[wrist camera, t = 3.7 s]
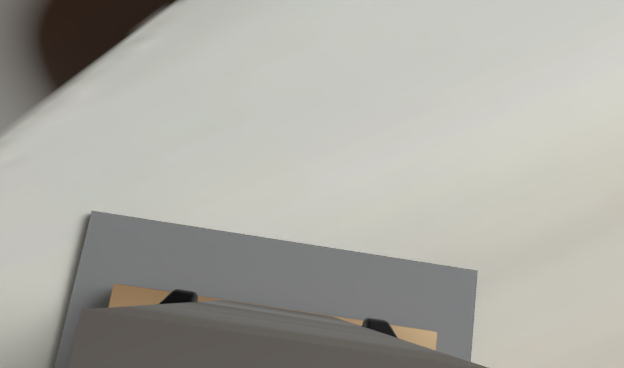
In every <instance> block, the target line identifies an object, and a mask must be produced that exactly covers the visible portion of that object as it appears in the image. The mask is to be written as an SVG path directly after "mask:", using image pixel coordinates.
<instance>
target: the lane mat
mask: <svg viewBox="0 0 624 368" xmlns="http://www.w3.org/2000/svg"><path fill="white" fill-rule="evenodd" d="M114 284H124V285H130V286H137V287H144V288H150V289H157V290H164V291H170V292H172V291H173V290H175V289H183V290H190V291H195V292H196V293H197V295H198V296H204V297H210V298H217V299H224V300H230V301H237V302H244V303H250V304H257V305H264V306H270V307H277V308H284V309H291V310H297V311H304V312H311V313H317V314H324V315H331V316H337V317H344V318H351V319H357V320H365V318H368V317H369V318H376V319H382V320H386V321H387V322H388V323H389V324H391V325H397V326H404V327H411V328H417V329H424V330H430V331H434V332H437V341H436V351H439V352H442V353H445V354H448V355H451V356H454V357H457V358H460V359H463V360H466V361H469V362H471V350H472V337H473V323H474V310H475V297H476V284H477V271H476V270H470V269H463V268H457V267H450V266H444V265H438V264H431V263H425V262H418V261H412V260H405V259H399V258H392V257H386V256H380V255H373V254H367V253H360V252H354V251H347V250H341V249H334V248H328V247H322V246H315V245H309V244H302V243H296V242H289V241H283V240H276V239H270V238H264V237H257V236H251V235H244V234H238V233H231V232H225V231H218V230H212V229H206V228H199V227H193V226H186V225H180V224H173V223H167V222H160V221H154V220H148V219H141V218H135V217H128V216H122V215H115V214H109V213H102V212H96V211H92V212H91V216H90V220H89V224H88V229H87V233H86V237H85V241H84V245H83V249H82V253H81V257H80V262H79V266H78V270H77V274H76V278H75V282H74V286H73V290H72V295H71V299H70V303H69V307H68V311H67V315H66V319H65V323H64V328H63V332H62V336H61V340H60V344H59V348H58V352H57V357H56V361H55V365H54V368H68V365H69V361H70V357H71V353H72V349H73V344H74V340H75V336H76V332H77V327H78V323H79V319H80V315H81V310H82V309H93V308H108V307H109V302H110V298H111V294H112V289H113V285H114Z"/></svg>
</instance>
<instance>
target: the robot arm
mask: <svg viewBox="0 0 624 368" xmlns="http://www.w3.org/2000/svg"><path fill="white" fill-rule="evenodd" d="M186 302H198V295H197V293H196V292H195V291H190V290H183V289H175V290H173V291H172V292H171V293H170V294H168V295H167V296H166V297H165V298H164V299H163V300H162V301H161V302H160V303H159V304H171V303H186ZM362 327H365V328H369V329H372V330H375V331H378V332H381V333H384V334H387V335H390V336H393V337H396V338H398V337H397V336H396V334H395V332H394V331H393V329H392V327H391V326H390V324H389V323H388V322H387V321H386V320H382V319H376V318H369V317H368V318H365V320H364V321H363V324H362Z"/></svg>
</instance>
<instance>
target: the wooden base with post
mask: <svg viewBox="0 0 624 368" xmlns="http://www.w3.org/2000/svg"><path fill="white" fill-rule="evenodd" d="M170 293H171V292H170V291H164V290H157V289H150V288H144V287H137V286H130V285H124V284H114V285H113V289H112V294H111V298H110V302H109V307H108V308H93V309H82V310H81V315H80V319H79V323H78V327H77V332H76V336H75V340H74V344H73V349H72V353H71V357H70V361H69V365H68V368H487V367H484V366H481V365H478V364H475V363H472V362H469V361H466V360H463V359H460V358H457V357H454V356H451V355H448V354H445V353H442V352H439V351H436V341H437V332H434V331H430V330H424V329H417V328H411V327H404V326H397V325H391V324H390V326H391V327H392V329H393V331H394V332H395V334H396V336H397V337H398V338H396V337H393V336H390V335H387V334H384V333H381V332H378V331H375V330H372V329H369V328H365V327H362V324H363V321H364V320H357V319H351V318H344V317H337V316H331V315H324V314H317V313H311V312H304V311H297V310H291V309H284V308H277V307H270V306H264V305H257V304H250V303H244V302H237V301H230V300H224V299H217V298H210V297H204V296H198V302H186V303H171V304H159V303H160V302H161V301H162V300H163V299H164V298H165V297H166V296H167V295H168V294H170Z"/></svg>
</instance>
